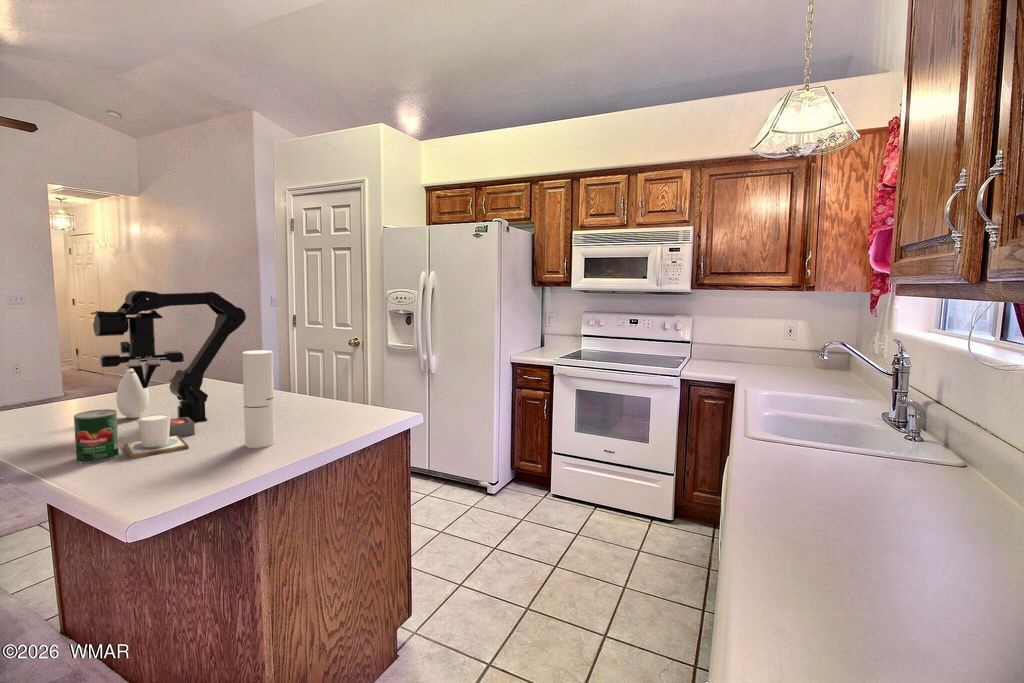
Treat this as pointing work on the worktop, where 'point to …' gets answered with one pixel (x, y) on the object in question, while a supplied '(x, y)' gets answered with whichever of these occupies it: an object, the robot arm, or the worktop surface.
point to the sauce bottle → (131, 395)
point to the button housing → (182, 427)
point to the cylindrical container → (258, 398)
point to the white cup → (154, 430)
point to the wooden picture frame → (138, 450)
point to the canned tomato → (96, 435)
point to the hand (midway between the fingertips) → (144, 388)
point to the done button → (176, 422)
